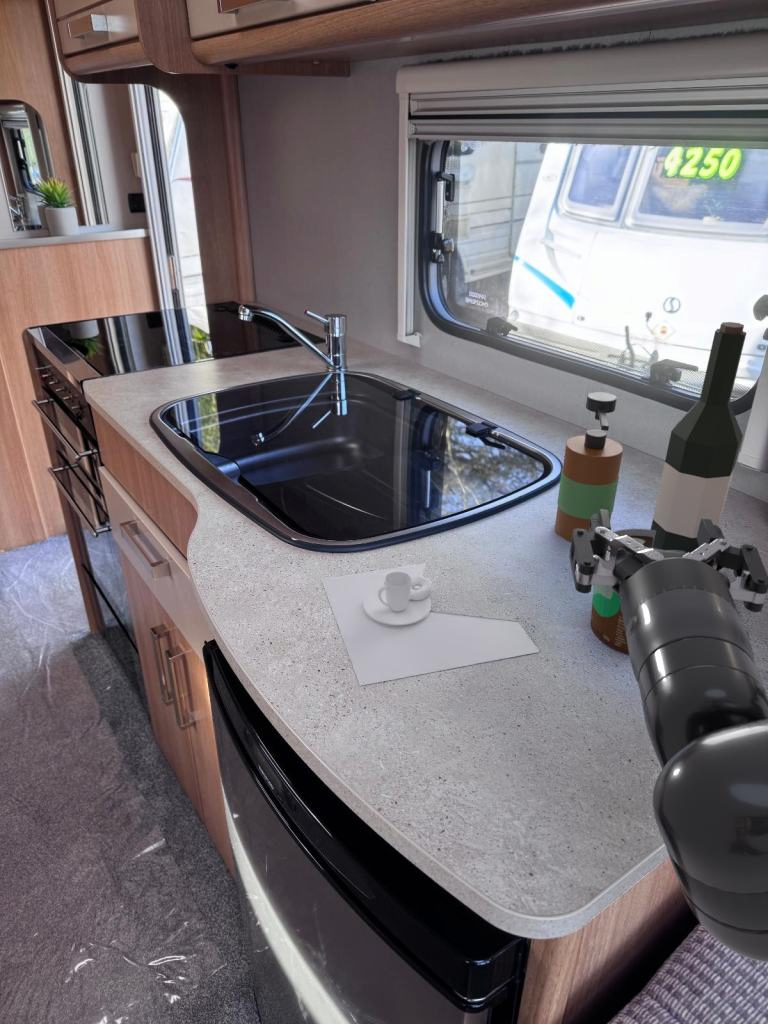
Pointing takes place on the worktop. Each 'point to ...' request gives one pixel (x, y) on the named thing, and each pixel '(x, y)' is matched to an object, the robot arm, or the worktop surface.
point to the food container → (614, 601)
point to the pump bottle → (587, 481)
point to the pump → (601, 406)
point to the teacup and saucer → (412, 627)
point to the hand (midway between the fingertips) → (652, 523)
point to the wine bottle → (701, 451)
